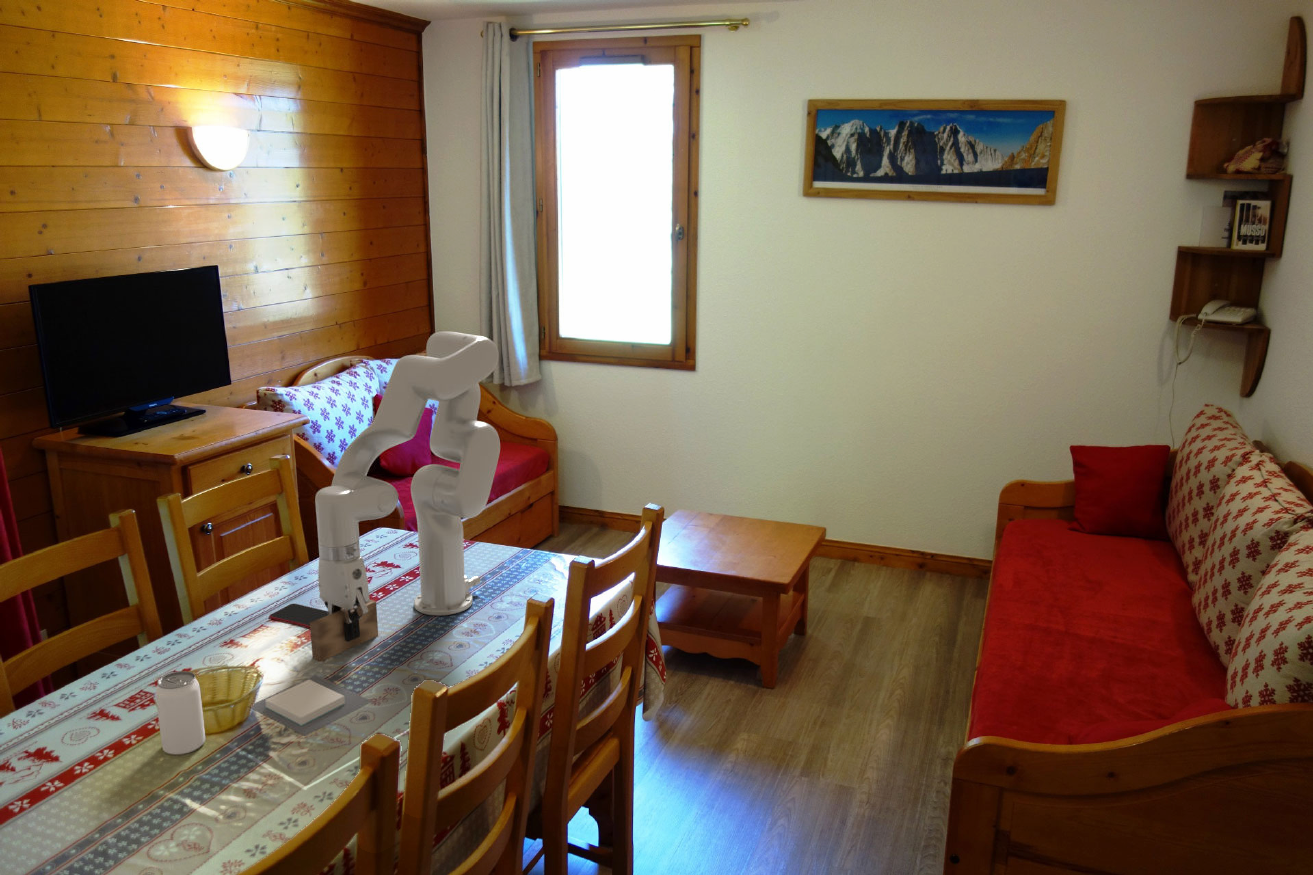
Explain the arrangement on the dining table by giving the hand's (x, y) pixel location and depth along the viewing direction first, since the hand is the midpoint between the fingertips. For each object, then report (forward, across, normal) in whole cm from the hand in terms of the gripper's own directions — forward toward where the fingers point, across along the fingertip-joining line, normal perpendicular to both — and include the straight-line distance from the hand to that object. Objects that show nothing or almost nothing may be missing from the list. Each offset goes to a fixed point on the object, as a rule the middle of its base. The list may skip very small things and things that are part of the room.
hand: (345, 635), depth 196 cm
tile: (+2, -13, +14) cm, 20 cm away
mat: (+3, -13, +18) cm, 22 cm away
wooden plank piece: (+3, 0, 0) cm, 3 cm away
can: (+3, -7, +38) cm, 39 cm away
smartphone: (+3, +18, -4) cm, 19 cm away
